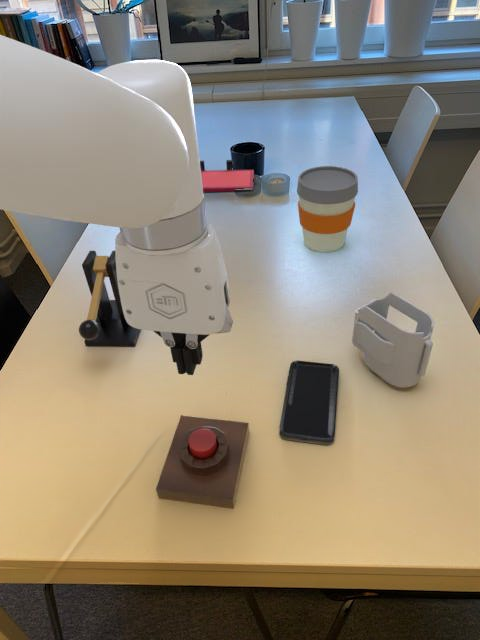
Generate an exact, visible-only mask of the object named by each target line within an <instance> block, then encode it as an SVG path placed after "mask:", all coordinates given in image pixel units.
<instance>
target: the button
mask: <svg viewBox="0 0 480 640" xmlns="http://www.w3.org/2000/svg"><path fill="white" fill-rule="evenodd" d="M189 447H190V452H191V454H192V455H193V456H194V457H195V458H198V459H207V458H210V457H211V456H213V455H214V454H215V452H216V450H217V442H216V436H215V434H214V433H213V432H212V431H211V430H208V429H199V430H196V431H194V432H193V433H192V434H191V435H190V437H189Z"/></svg>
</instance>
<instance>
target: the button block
mask: <svg viewBox="0 0 480 640" xmlns="http://www.w3.org/2000/svg"><path fill="white" fill-rule="evenodd" d="M199 429H208V430H211V431H212V432H213V433H214V434H215V436H216V442H217V450H216V452H215V454H214V455H213V456H211V457H210V458H207V459H198V458H195V457H194V456H193V455H192V454H191V452H190V447H189V437H190V435H191V434H192V433H193V432H194V431H196V430H199ZM249 436H250V423H249V422H245V421H235V420H226V419H217V418H210V417H209V418H207V417H200V416H199V417H198V416H192V415H191V416H189V415H180V417H179V419H178V423H177V426H176V429H175V432H174V434H173V437H172V441H171V444H170V446H169V449H168V452H167V455H166V459H165V461H164V464H163V467H162V470H161V473H160V476H159V479H158V481H157V485H156V488H155V491H156V494H157V497H158V499H162V500H169V501H176V502H181V503H191V504H198V505H203V506H204V505H205V506H211V507H220V508H224V509H225V508H226V509H233V510H234V509H235V506H236V505H235V504H236V500H237V496H238V490H239V485H240V480H241V475H242V471H243V470H242V469H243V466H244V460H245V457H246V456H245V454H246V450H247V446H248V441H249Z"/></svg>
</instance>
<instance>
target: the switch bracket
mask: <svg viewBox="0 0 480 640" xmlns="http://www.w3.org/2000/svg"><path fill="white" fill-rule="evenodd" d="M96 256H98V254H97V252H96V250H89V251H88V253H87V255H86V257H85V258H84V260H83V262H82V263H81V267H82V271H83V273H84V277H85V280H86V283H87V286H88V289H89V292H90V293H89V294H91V297H92V294H93V289H94V285H95V280H96V274H95V272H94V271H93V266H94V261H95V257H96ZM108 257H109V259H108V261H107V263H106V269H107V272H108V276H109V277H108V279H109V284H110V286H111V290H112V295H113V297H114V299H110V297H109V294H108V290H107V287H106V283H105V282H104V284H103V288H102V293H101V298H100V303H99V308H98V313H97V318H96V322H97V323H98V325H99V327H100V333H99V335H98V336H97V337H96V338H95V339H92V340H86V339H84V340H83V342H84V344H85V347H115V348H116V347H122V348H124V347H128V348H129V347H130V348H135V347H136V346H137V343H138V340H139V336H140V334H141V331H142V330H141V329H137V328H134V327H132V326H130V325H129V324H128V323H127V321H126V319H125V317H124V313H123V309H122V305H121V299H120V294H119V288H118V281H117V271H116V257H115V250H112V251H111V253H110V255H109V256H108ZM130 312H131V311H130Z"/></svg>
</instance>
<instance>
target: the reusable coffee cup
mask: <svg viewBox="0 0 480 640" xmlns="http://www.w3.org/2000/svg"><path fill="white" fill-rule="evenodd" d="M358 178H359V177H358V175H357V174H356V173H355V172H354V171H353V170H352V169H351V170H350V169H348V168H347V167H346V168H345V167H341V166H335V165H323V166H314V167H312V168H311V167H310V168H307V169H305V170H304V171H302V172H301V173H300V174H299V175H298V179H297V186H296V192H297V195H298V201H297V210H298V219H299V224H300V226H301V229H302V238H303V245H305V247H306V248H307V249H310V250H311V251H314V252H317V253H331V252H332V253H333V252H336V251H338V250H340V249H342V248H343V246H344V245H345V241H346V238H347V234H348V229H349V227H350V226H351V224H352V220H353V217H354V212H355V209H356V201H355V199H356V196H358V193H359V179H358Z"/></svg>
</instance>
